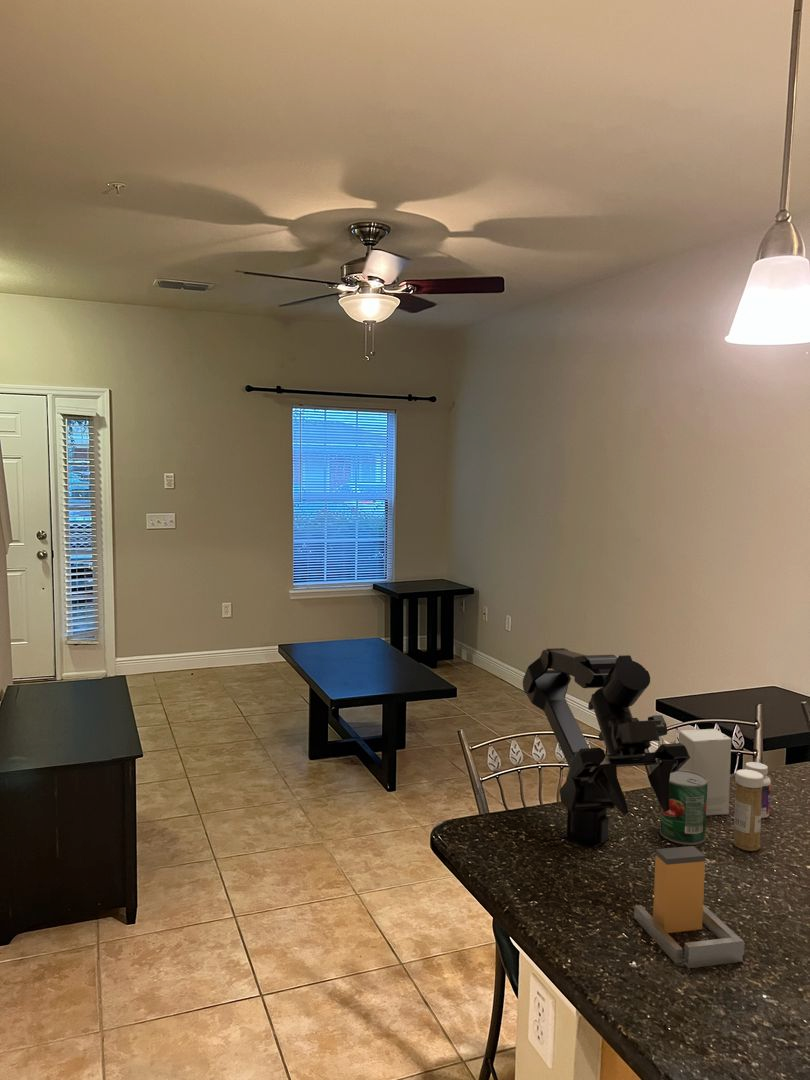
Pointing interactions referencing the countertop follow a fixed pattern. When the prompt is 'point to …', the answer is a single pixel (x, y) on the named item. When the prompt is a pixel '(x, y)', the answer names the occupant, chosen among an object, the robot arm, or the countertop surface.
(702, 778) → the canned tomato
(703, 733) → the skincare box
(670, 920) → the tan tall block
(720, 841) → the countertop surface
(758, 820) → the sprinkles bottle
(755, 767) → the pill bottle
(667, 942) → the gray rectangular tray
